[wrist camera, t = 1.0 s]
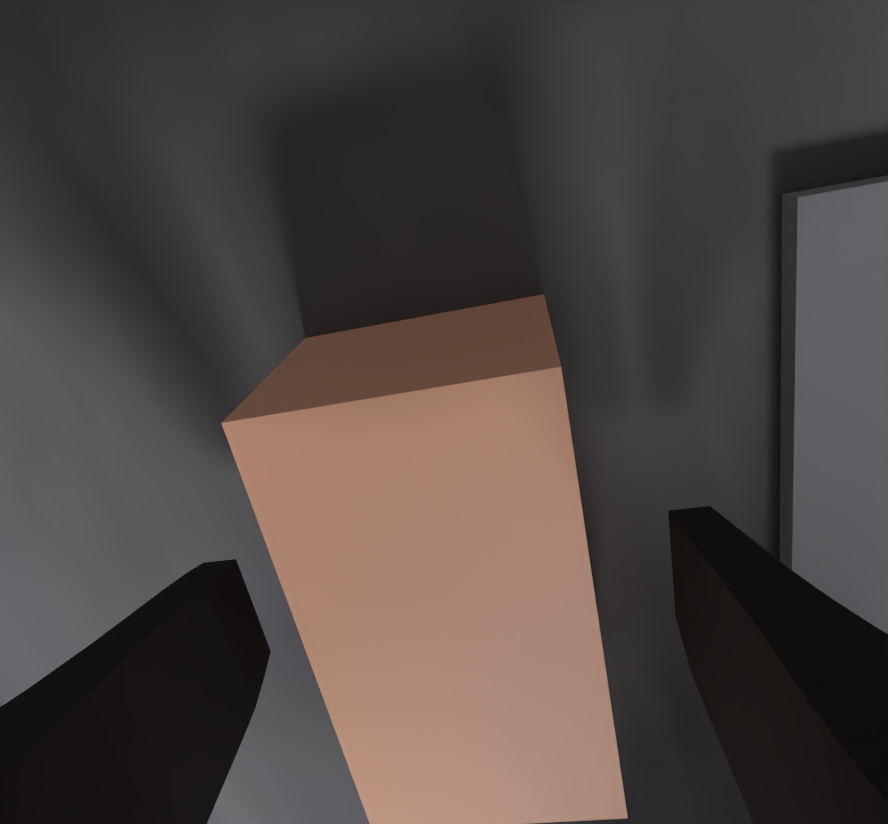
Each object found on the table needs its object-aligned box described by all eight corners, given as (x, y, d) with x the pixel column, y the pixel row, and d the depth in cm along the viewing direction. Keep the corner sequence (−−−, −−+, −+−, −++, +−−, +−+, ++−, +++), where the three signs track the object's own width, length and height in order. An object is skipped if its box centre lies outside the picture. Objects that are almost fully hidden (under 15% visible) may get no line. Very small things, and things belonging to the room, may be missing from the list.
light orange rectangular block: (596, 643, 14) (627, 818, 11) (405, 661, 15) (373, 832, 11) (542, 291, 11) (560, 366, 8) (308, 335, 12) (221, 422, 8)
